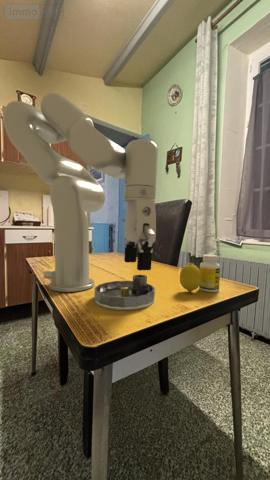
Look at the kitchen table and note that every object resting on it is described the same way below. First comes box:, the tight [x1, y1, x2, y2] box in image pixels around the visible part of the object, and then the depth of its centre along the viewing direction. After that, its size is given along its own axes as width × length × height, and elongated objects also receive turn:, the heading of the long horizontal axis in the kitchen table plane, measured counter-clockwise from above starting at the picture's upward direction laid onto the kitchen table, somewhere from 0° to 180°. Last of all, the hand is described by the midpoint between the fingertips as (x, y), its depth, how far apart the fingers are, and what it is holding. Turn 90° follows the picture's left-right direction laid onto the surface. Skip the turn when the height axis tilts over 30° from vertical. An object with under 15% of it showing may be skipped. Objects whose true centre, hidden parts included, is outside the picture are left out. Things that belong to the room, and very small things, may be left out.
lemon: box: [179, 262, 201, 293], centre depth 58 cm, size 6×6×8 cm
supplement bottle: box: [198, 254, 221, 293], centre depth 61 cm, size 5×5×10 cm
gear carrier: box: [94, 280, 156, 312], centre depth 52 cm, size 14×14×5 cm
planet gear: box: [131, 274, 148, 296], centre depth 53 cm, size 4×4×4 cm
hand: (136, 265), depth 53 cm, fingers open, 9 cm apart
